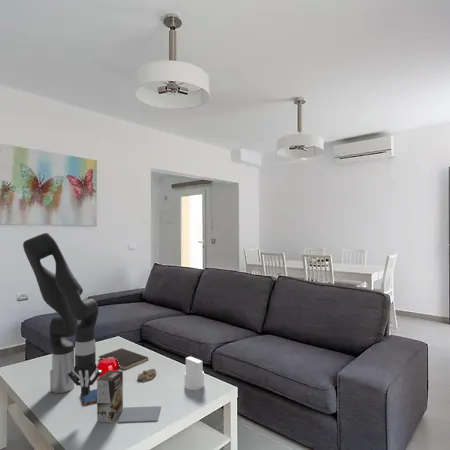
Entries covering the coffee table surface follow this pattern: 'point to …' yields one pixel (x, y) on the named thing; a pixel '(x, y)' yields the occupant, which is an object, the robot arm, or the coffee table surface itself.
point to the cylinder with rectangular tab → (194, 374)
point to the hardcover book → (125, 358)
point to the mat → (139, 414)
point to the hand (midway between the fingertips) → (85, 395)
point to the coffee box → (109, 396)
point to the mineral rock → (147, 375)
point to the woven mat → (90, 397)
